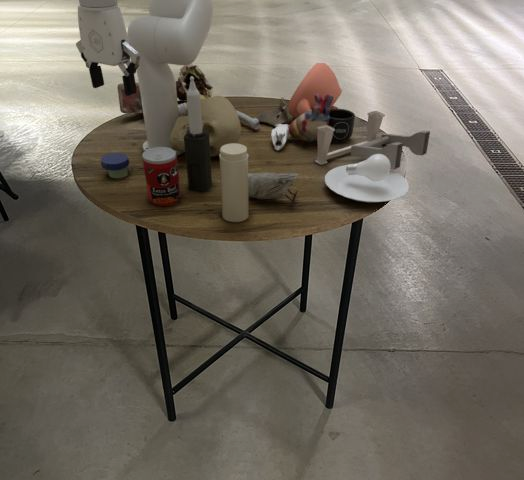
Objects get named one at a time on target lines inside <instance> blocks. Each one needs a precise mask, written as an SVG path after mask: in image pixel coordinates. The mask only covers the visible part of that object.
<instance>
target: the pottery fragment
mask: <svg viewBox="0 0 524 480" xmlns="http://www.w3.org/2000/svg"><path fill="white" fill-rule="evenodd" d="M284 100H285V98H284V97H283V96H282V97H281V98H280V100H279V107H278V108H274V109H266V110H262V111H260V112H259V113H257V114H256V115H255V116H253V118H256V119H258V120H259V123H261V122H262V123H265V124H268V125H270V126H273V127H275V128H276V127H277V126H274V125H277V124H282V125H283V124H286V122H287V121H288V119H289V118H288V103H286V102H285V101H284Z"/></svg>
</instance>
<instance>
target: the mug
mask: <svg viewBox="0 0 524 480" xmlns="http://www.w3.org/2000/svg"><path fill="white" fill-rule="evenodd" d="M329 117H330V119H329V124H328V126H331V127H333V128H334V129H335V131H333V136H332V140H331V143H332V142H333V143H343V142H345V141H349V140H350V139H351V137H352V135H353V133H354V126H355V118H356V115H355V113H354V112H353V111H351V110H348V109H345V108H338V109H330V113H329Z"/></svg>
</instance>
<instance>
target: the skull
mask: <svg viewBox="0 0 524 480" xmlns="http://www.w3.org/2000/svg"><path fill="white" fill-rule="evenodd" d="M200 104H201V118H202V129H204V130H206V132H208V133H209V142H210V158H212V157H217V156H218V157H219V155H220V153H221V152H220V149H221V147H222V146H223V145H226V144H231V143H236V144H239V141H240V138H241V133H242V126H241V120H239V117H238V114H237V112H236V109H235V107H234V105H233V104H232V103H231V101H230V99H228V98H226V97H225V96H223V95H214V96H211V97H209V98H206V99H202V100H200ZM186 112H188V108H187V109H186ZM187 125H188V126H187ZM186 126H187V127H186ZM189 129H190V127H189V116H188V115H186V116H181V117H180V116H179V117H178V118H177V119H176V122H175V125H174V127H173V129H172V132H171V135H170V146H171V149H173V150H175V151H184V150H185V145H184V135H185V134H186V131H187V130H189Z"/></svg>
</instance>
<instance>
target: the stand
mask: <svg viewBox="0 0 524 480" xmlns="http://www.w3.org/2000/svg"><path fill="white" fill-rule="evenodd" d="M107 171H108V176H109V177H110V178H111V179H122V178H126V177H127V176H128V175H129V172H128V167H126V168H124V169H121V170H107Z"/></svg>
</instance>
